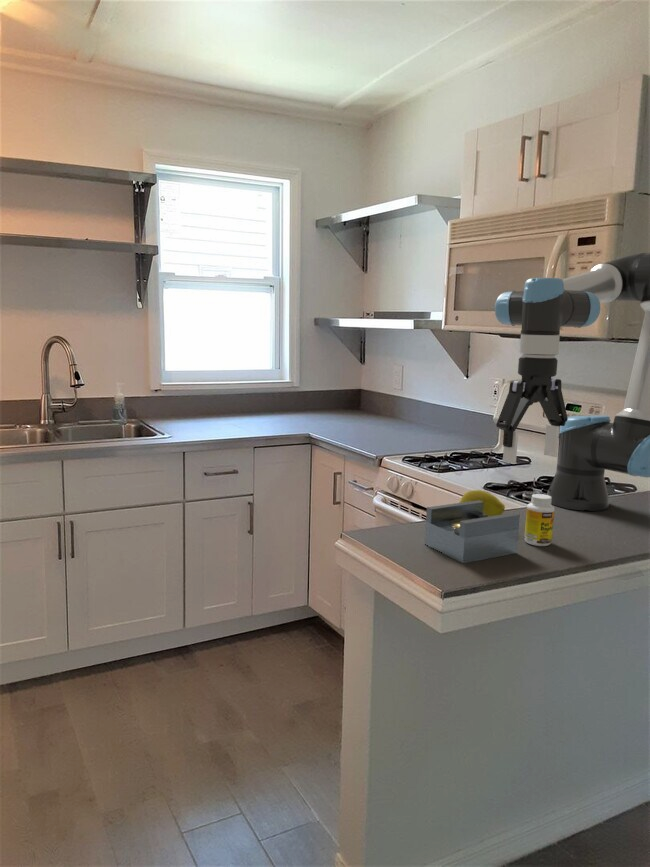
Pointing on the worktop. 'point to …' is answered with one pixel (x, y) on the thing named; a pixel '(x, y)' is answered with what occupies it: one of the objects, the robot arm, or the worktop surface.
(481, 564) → the worktop surface
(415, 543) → the worktop surface
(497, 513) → the lemon
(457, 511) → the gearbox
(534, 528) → the supplement bottle
